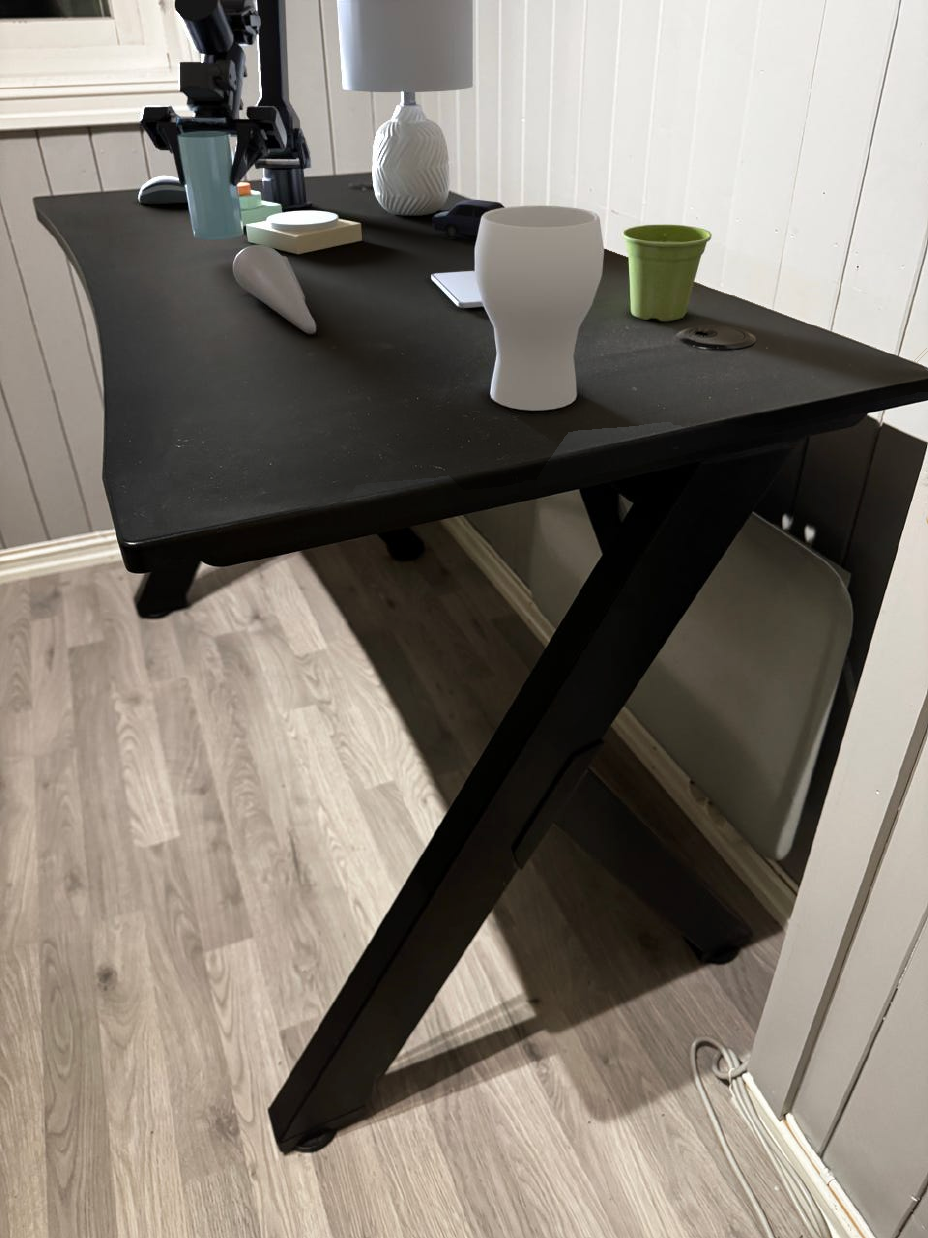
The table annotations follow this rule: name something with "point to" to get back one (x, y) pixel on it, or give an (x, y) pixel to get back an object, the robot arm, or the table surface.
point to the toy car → (463, 217)
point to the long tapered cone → (273, 284)
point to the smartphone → (460, 287)
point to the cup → (537, 298)
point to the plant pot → (663, 268)
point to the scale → (303, 231)
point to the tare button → (244, 189)
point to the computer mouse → (163, 191)
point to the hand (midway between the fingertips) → (207, 183)
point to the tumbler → (210, 184)
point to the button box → (257, 208)
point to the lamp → (408, 88)
